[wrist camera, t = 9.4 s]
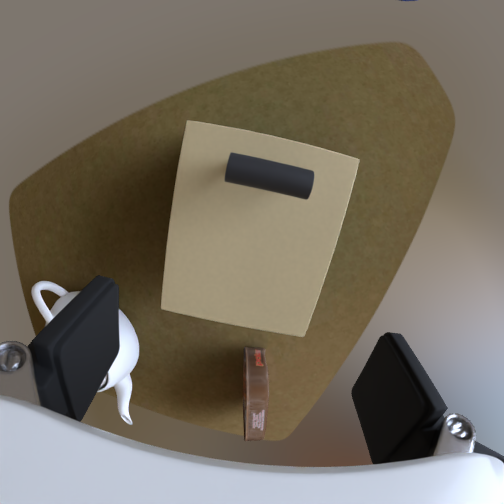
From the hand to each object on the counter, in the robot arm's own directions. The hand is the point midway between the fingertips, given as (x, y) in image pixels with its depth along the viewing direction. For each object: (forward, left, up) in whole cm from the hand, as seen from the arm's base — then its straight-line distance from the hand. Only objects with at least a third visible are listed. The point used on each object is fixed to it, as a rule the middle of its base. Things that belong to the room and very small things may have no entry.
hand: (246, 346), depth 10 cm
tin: (+23, +5, -23) cm, 33 cm away
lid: (+1, 0, -14) cm, 14 cm away
